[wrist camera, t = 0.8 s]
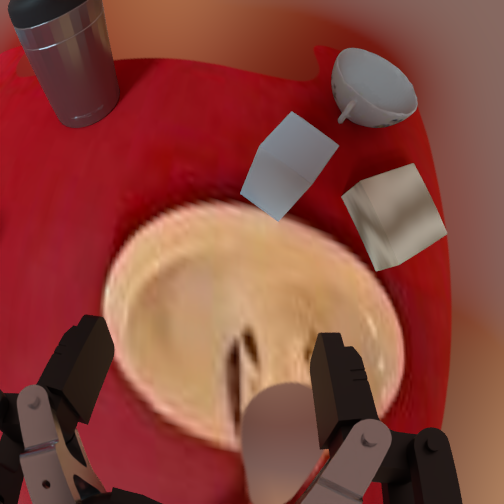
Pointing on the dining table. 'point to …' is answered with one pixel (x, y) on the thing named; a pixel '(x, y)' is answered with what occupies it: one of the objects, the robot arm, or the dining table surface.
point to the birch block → (394, 216)
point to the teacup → (371, 90)
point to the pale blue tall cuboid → (287, 165)
